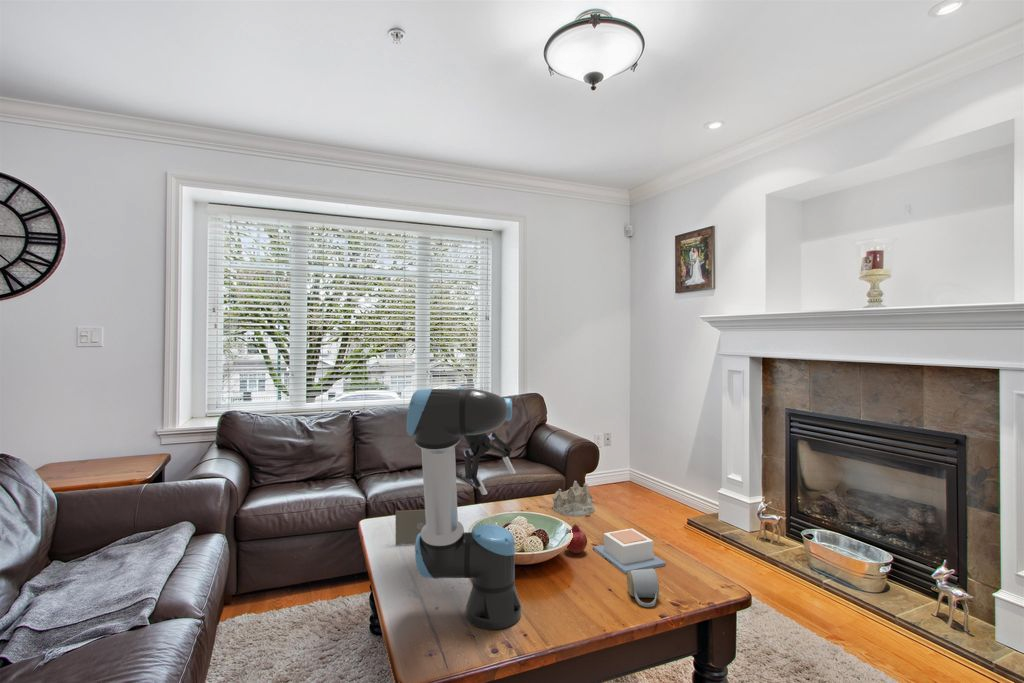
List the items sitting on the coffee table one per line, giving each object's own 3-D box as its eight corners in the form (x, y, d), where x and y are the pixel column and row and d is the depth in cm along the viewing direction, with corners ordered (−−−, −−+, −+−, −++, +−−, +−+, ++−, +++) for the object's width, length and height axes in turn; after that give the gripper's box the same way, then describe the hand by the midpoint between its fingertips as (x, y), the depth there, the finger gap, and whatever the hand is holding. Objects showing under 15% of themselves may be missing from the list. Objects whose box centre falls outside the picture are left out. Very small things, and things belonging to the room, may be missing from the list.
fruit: (591, 551, 178) (591, 523, 177) (580, 559, 171) (580, 530, 171) (570, 546, 182) (570, 518, 182) (560, 554, 175) (560, 525, 175)
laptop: (444, 530, 198) (444, 497, 198) (445, 543, 185) (444, 508, 185) (398, 533, 195) (398, 500, 195) (395, 546, 183) (395, 511, 183)
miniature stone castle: (600, 512, 217) (597, 477, 217) (569, 520, 209) (567, 484, 209) (577, 503, 230) (575, 471, 231) (548, 511, 222) (546, 477, 222)
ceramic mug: (625, 589, 151) (625, 564, 151) (652, 589, 151) (652, 563, 151) (634, 609, 140) (634, 582, 140) (663, 608, 140) (663, 581, 140)
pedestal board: (665, 565, 166) (665, 543, 166) (625, 574, 160) (625, 551, 160) (630, 542, 185) (630, 522, 185) (592, 549, 179) (592, 529, 179)
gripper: (493, 415, 186) (518, 465, 186) (439, 447, 171) (467, 503, 171) (503, 412, 180) (529, 464, 180) (449, 445, 165) (477, 503, 165)
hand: (499, 483), depth 175 cm, fingers open, 13 cm apart
